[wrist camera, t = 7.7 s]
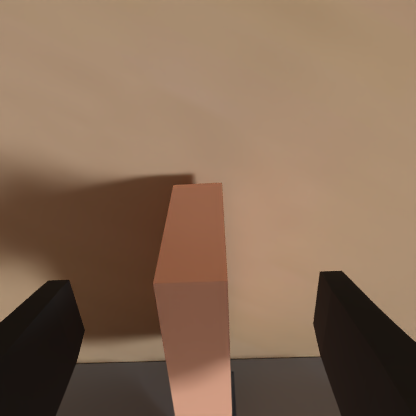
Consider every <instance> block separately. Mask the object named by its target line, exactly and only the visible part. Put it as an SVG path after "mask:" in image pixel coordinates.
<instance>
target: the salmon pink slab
mask: <svg viewBox="0 0 416 416" xmlns="http://www.w3.org/2000/svg"><path fill="white" fill-rule="evenodd" d="M153 286H154V292H155V298H156V304H157V310H158V316H159V322H160V328H161V334H162V340H163V346H164V352H165V358H166V364H167V370H168V376H169V382H170V388H171V394H172V400H173V406H174V412H175V416H232V399H231V369H230V339H229V309H228V280H227V263H226V245H225V228H224V211H223V193H222V183H207V184H184V185H173V189H172V194H171V199H170V204H169V209H168V213H167V218H166V223H165V228H164V233H163V238H162V242H161V247H160V252H159V257H158V262H157V267H156V272H155V276H154V281H153Z"/></svg>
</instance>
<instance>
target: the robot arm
mask: <svg viewBox="0 0 416 416" xmlns="http://www.w3.org/2000/svg"><path fill="white" fill-rule="evenodd" d="M313 324H314V329H315V333H316V338H317V343H318V347H319V351H320V355H321V359H322V362H323V365H324V368H325V371H326V374H327V377H328V380H329V382H330V385H331V388H332V391H333V394H334V397H335V399H336V402H337V405H338V408H339V411H340V414H341V416H416V342H415V341H414V340H413V339H412V338H410V337H409V336H408V335H407V334H406V333H405V332H404V331H403V330H402V329H401V328H399V327H398V326H397V325H396V324H395V323H394V322H393V321H392V320H391V319H390V318H389V317H388V316H387V315H386V314H385V313H383V312H382V311H381V310H380V309H379V308H378V307H377V306H376V305H375V304H374V303H373V302H372V301H371V300H370V299H369V298H368V297H367V296H366V295H365V294H364V293H363V292H362V291H361V290H360V289H359V288H358V287H357V286H356V285H355V284H354V283H353V282H352V281H351V280H350V278H349V277H347V276H346V275H345V274H344V273H343V272H342V271H325V272H320V275H319V283H318V291H317V299H316V307H315V315H314V322H313ZM84 331H85V329H84V326H83V323H82V320H81V316H80V313H79V310H78V307H77V304H76V300H75V297H74V294H73V291H72V288H71V284H70V281H69V280H52V281H47V282H46V283H45V284H44V285H43V286H41V287H40V288H39V289H38V290H37V291H36V292H34V293H33V294H32V295H31V296H30V297H29V298H28V299H26V300H25V301H24V302H23V303H22V304H21V305H20V306H19V307H17V308H16V309H15V310H14V311H13V312H12V313H11V314H9V315H8V316H7V317H6V318H5V319H4V320H3V321H1V322H0V416H56V414H57V411H58V409H59V406H60V404H61V401H62V399H63V396H64V394H65V391H66V389H67V386H68V384H69V381H70V378H71V376H72V373H73V371H74V368H75V365H76V362H77V359H78V355H79V351H80V347H81V343H82V339H83V335H84Z"/></svg>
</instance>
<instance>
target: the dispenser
mask: <svg viewBox="0 0 416 416" xmlns="http://www.w3.org/2000/svg"><path fill="white" fill-rule="evenodd" d="M230 369H231V399H232V416H341V414H340V411H339V408H338V405H337V402H336V399H335V397H334V394H333V391H332V388H331V385H330V382H329V380H328V377H327V374H326V371H325V368H324V365H323V362H322V359H321V357H308V358H271V359H235V360H230ZM56 416H175V412H174V406H173V400H172V394H171V388H170V382H169V376H168V370H167V364H166V361H163V362H127V363H91V364H76V365H75V368H74V371H73V373H72V376H71V378H70V381H69V384H68V386H67V389H66V391H65V394H64V396H63V399H62V401H61V404H60V406H59V409H58V411H57V414H56Z"/></svg>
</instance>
